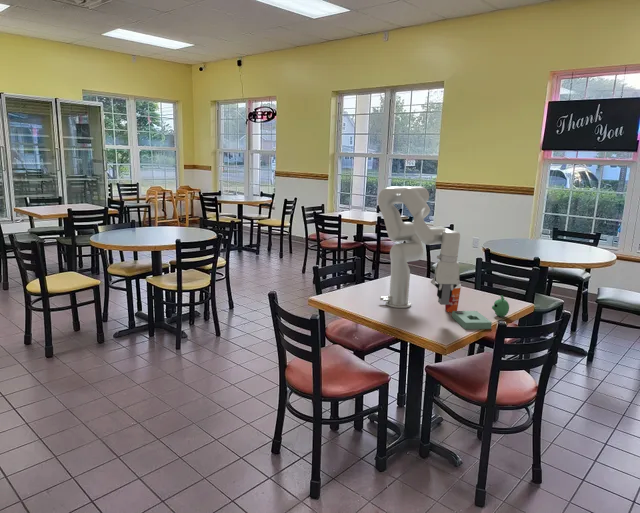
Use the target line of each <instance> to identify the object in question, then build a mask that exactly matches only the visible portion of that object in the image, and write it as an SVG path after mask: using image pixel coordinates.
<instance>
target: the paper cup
mask: <svg viewBox="0 0 640 513" xmlns="http://www.w3.org/2000/svg"><path fill="white" fill-rule="evenodd" d="M461 284H462V283H461ZM461 284H460V285H458V286H456V287H455V288H454V289H453V290H452V296H451V298H450V299H449V305H444V311H445V312H447V313H451V314H452V311H458V308H459V301H460V296H461V295H460V294H461V289H462V285H461Z"/></svg>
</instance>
